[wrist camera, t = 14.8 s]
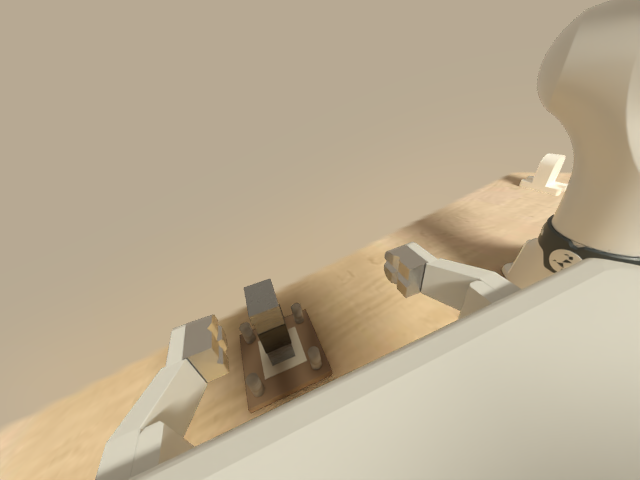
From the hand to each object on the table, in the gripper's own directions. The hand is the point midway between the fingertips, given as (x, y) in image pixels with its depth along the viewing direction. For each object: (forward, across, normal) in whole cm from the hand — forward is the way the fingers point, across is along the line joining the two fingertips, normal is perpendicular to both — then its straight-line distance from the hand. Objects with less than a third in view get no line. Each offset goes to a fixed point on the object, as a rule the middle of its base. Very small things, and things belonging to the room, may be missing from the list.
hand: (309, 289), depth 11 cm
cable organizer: (+32, -82, +28) cm, 93 cm away
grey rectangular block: (+15, +3, +27) cm, 31 cm away
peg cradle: (+15, +3, +28) cm, 32 cm away
